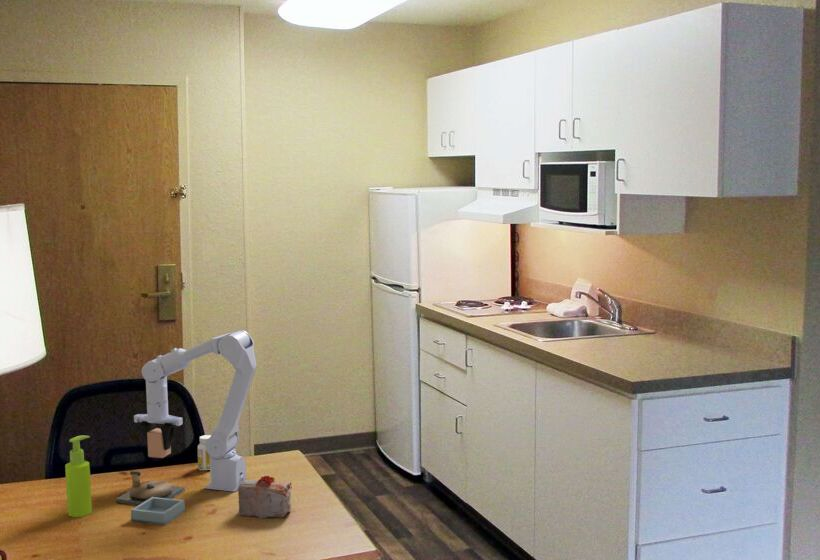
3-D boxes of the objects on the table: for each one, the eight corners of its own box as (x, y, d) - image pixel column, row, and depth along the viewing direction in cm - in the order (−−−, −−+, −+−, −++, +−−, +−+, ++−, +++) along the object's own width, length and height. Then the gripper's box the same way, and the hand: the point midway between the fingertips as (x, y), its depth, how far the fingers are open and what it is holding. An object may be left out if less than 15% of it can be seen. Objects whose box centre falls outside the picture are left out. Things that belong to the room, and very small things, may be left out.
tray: (185, 511, 233) (184, 500, 233) (164, 525, 224) (164, 513, 223) (152, 507, 236) (152, 496, 235) (131, 521, 227) (130, 509, 226)
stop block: (171, 453, 256) (169, 429, 255) (162, 457, 252) (161, 433, 251) (157, 451, 257) (156, 428, 257) (148, 456, 253) (147, 432, 252)
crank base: (184, 490, 248) (184, 486, 248) (158, 507, 236) (158, 503, 236) (144, 486, 252) (143, 482, 252) (116, 502, 240) (115, 498, 240)
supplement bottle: (219, 465, 269) (218, 434, 268) (213, 471, 264) (212, 439, 263) (201, 465, 270) (200, 434, 269) (195, 471, 264) (194, 439, 263)
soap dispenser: (99, 509, 235) (96, 435, 233) (80, 518, 229) (75, 442, 226) (82, 506, 237) (78, 432, 235) (62, 515, 231) (58, 439, 229)
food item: (295, 509, 234) (295, 473, 233) (287, 521, 226) (286, 483, 225) (245, 507, 236) (244, 471, 235) (235, 518, 228) (234, 481, 227)
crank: (179, 486, 247) (178, 468, 247) (157, 500, 237) (156, 481, 236) (142, 483, 251) (141, 465, 250) (119, 496, 240) (118, 477, 240)
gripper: (126, 403, 251) (128, 450, 253) (172, 406, 247) (174, 454, 249) (141, 397, 258) (143, 443, 259) (185, 400, 254) (187, 447, 255)
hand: (159, 448), depth 254 cm, fingers closed on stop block, 4 cm apart
